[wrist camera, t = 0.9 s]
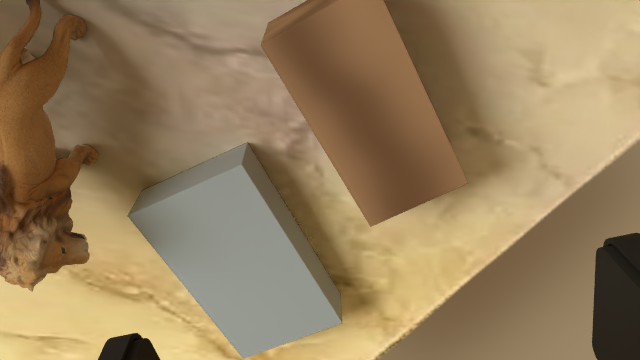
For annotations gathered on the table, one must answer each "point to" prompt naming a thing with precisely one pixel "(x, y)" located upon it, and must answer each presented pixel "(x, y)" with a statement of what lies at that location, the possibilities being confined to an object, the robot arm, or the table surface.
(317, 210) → the table surface
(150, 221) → the base slab
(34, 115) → the lion figurine
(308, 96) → the walnut brick
